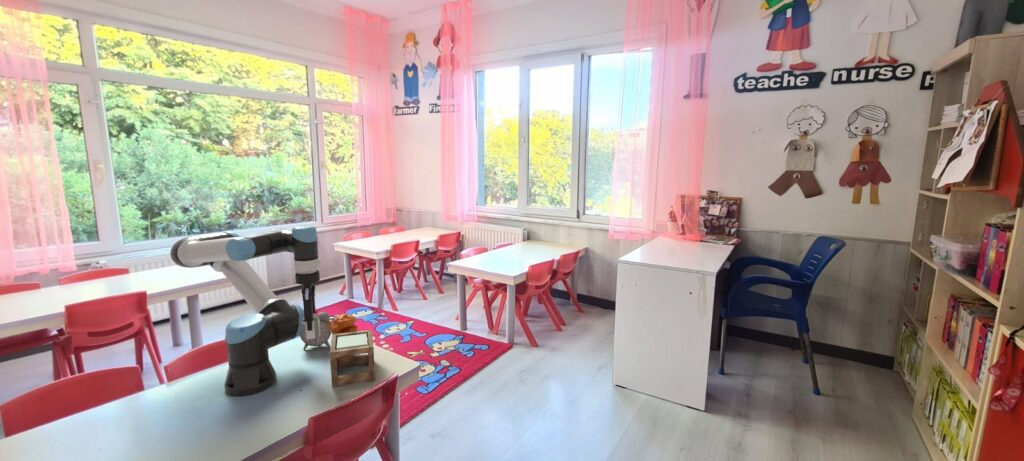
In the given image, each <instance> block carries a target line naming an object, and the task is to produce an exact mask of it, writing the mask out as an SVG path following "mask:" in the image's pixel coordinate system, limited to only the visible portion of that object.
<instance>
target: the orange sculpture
mask: <svg viewBox="0 0 1024 461" xmlns="http://www.w3.org/2000/svg"><path fill="white" fill-rule="evenodd" d="M330 322H331V323H330V330H331V332H332V333H331V335H332V334H339V333H348V332H356V331H358V327H359V326H358V325H356V324H355V323H356V322H357V318H356V316H354V315H352V314H349V311H348V312H347V313H341V314H339V315H337V316H335V317H334V318H332V319H331V321H330ZM351 356H355V355H350V356H343V357H339V358H344V357H351Z"/></svg>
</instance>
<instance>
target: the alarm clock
mask: <svg viewBox="0 0 1024 461" xmlns="http://www.w3.org/2000/svg"><path fill="white" fill-rule="evenodd" d="M315 316H316V317H319V321H320V337H319V338H316V339H308V340H303V333H302V334H301V335H299V337H300V339H301V341H302V342H303V344H304V346H303V350H304V351H305V350H306V349H307V348H308V347H309V346H310V347H320V346H323V345H325V346H327V347H328V348H330V346H331V344H330V343H329V339H331V336H332V332H331V330H330V323H331V321H330V315H329V313H328V312H327V311H320V312H318V313H315ZM331 324H332V323H331Z"/></svg>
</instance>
